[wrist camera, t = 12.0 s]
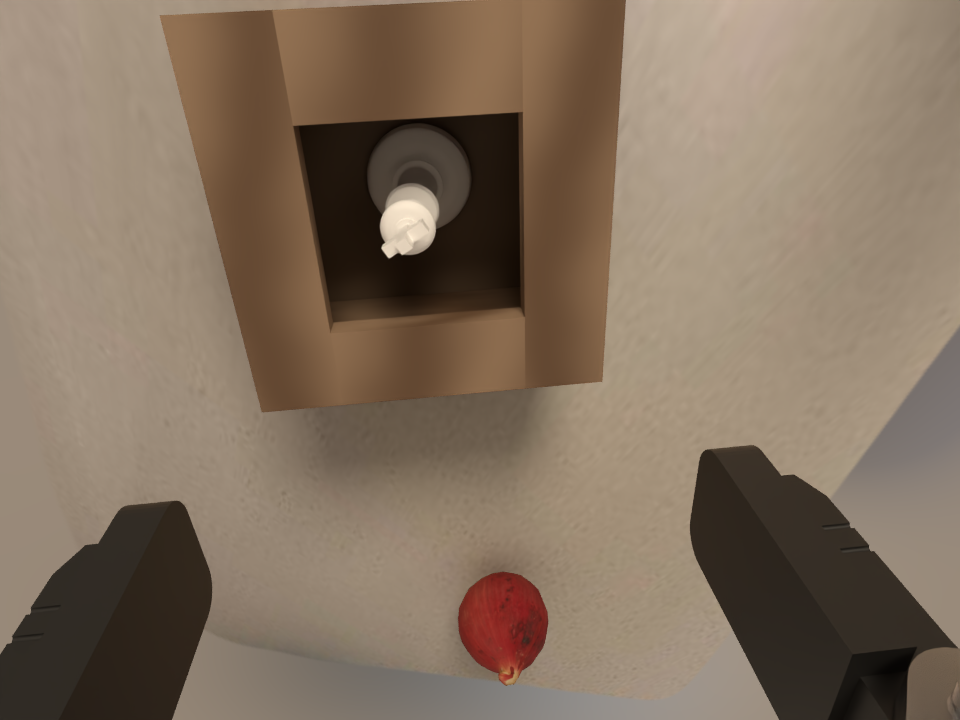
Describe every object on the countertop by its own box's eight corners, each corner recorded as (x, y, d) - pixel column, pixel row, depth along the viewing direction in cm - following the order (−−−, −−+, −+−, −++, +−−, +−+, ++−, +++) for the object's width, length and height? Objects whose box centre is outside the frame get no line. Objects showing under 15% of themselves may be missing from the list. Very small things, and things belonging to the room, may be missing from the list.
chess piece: (491, 192, 30) (505, 266, 21) (408, 247, 31) (389, 338, 22) (432, 100, 28) (420, 139, 19) (345, 163, 29) (297, 226, 20)
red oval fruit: (496, 532, 42) (514, 636, 35) (553, 570, 44) (580, 674, 37) (438, 581, 43) (444, 688, 36) (495, 615, 46) (511, 722, 39)
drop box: (562, 1, 27) (626, -7, 19) (557, 297, 34) (602, 381, 26) (234, 16, 26) (159, 15, 18) (297, 318, 33) (261, 412, 25)
